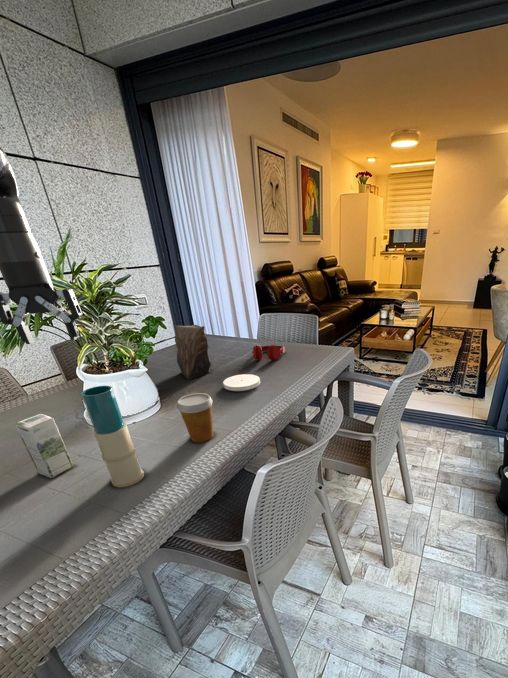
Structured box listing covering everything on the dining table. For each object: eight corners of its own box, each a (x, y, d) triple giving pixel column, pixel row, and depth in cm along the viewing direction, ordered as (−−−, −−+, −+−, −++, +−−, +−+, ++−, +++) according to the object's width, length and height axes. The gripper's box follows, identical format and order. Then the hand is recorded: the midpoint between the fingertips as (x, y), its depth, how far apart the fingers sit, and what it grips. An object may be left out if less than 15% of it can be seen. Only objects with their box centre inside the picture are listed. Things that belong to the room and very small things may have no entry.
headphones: (280, 361, 162) (287, 354, 181) (279, 345, 160) (286, 340, 178) (248, 361, 163) (259, 355, 182) (247, 346, 161) (257, 341, 180)
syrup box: (61, 461, 93) (38, 412, 86) (75, 467, 91) (53, 416, 84) (38, 473, 89) (12, 422, 82) (52, 479, 86) (26, 427, 79)
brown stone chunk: (178, 372, 155) (167, 326, 146) (206, 366, 161) (198, 321, 152) (187, 379, 146) (176, 331, 137) (216, 373, 152) (207, 326, 143)
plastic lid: (222, 383, 141) (221, 377, 140) (257, 378, 145) (256, 372, 144) (225, 395, 129) (224, 389, 128) (263, 390, 133) (262, 383, 132)
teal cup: (89, 432, 77) (74, 394, 73) (109, 420, 82) (96, 384, 78) (111, 435, 76) (97, 396, 71) (130, 423, 81) (118, 386, 76)
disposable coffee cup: (220, 427, 107) (213, 391, 102) (217, 443, 99) (209, 404, 93) (188, 431, 106) (179, 394, 100) (182, 447, 98) (172, 408, 92)
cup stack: (105, 485, 83) (84, 433, 77) (126, 468, 89) (109, 419, 83) (130, 489, 82) (111, 437, 75) (150, 471, 88) (134, 421, 81)
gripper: (67, 256, 74) (93, 334, 81) (-12, 260, 71) (23, 340, 78) (53, 258, 67) (83, 342, 75) (-35, 262, 64) (6, 349, 72)
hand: (52, 341), depth 77 cm, fingers open, 8 cm apart
